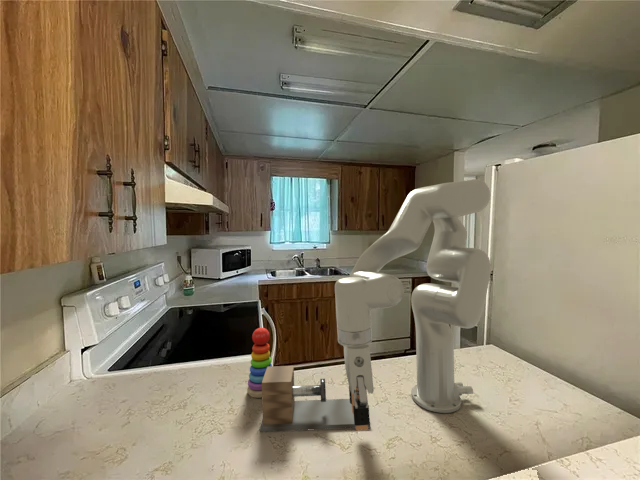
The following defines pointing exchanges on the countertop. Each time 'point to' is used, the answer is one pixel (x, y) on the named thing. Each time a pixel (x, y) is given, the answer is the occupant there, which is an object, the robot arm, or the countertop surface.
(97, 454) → the countertop surface
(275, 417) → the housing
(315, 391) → the shaft
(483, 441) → the countertop surface
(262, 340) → the stacking toy
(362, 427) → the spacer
